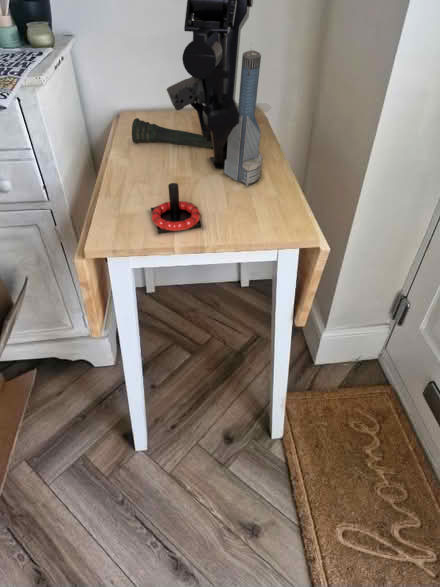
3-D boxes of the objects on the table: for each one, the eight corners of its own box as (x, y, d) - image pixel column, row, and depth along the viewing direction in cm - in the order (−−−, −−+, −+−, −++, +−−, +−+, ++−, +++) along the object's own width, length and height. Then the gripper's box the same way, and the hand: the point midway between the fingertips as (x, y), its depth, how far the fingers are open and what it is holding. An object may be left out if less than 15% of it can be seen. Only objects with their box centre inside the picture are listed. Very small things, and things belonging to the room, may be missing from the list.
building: (258, 187, 102) (276, 46, 82) (220, 182, 103) (229, 41, 83) (261, 168, 110) (278, 34, 89) (227, 164, 110) (236, 30, 90)
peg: (151, 211, 93) (147, 177, 88) (191, 206, 95) (190, 172, 90) (158, 234, 87) (154, 198, 81) (201, 227, 88) (200, 192, 83)
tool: (130, 147, 119) (126, 122, 114) (137, 137, 123) (134, 114, 119) (227, 155, 116) (228, 131, 111) (231, 146, 120) (232, 122, 116)
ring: (148, 210, 91) (147, 202, 90) (194, 204, 94) (193, 196, 92) (156, 235, 84) (155, 227, 83) (205, 228, 86) (205, 220, 85)
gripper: (159, 54, 85) (165, 132, 96) (179, 80, 72) (183, 168, 82) (213, 51, 88) (213, 128, 98) (242, 76, 74) (238, 161, 85)
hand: (211, 145), depth 91 cm, fingers open, 9 cm apart
